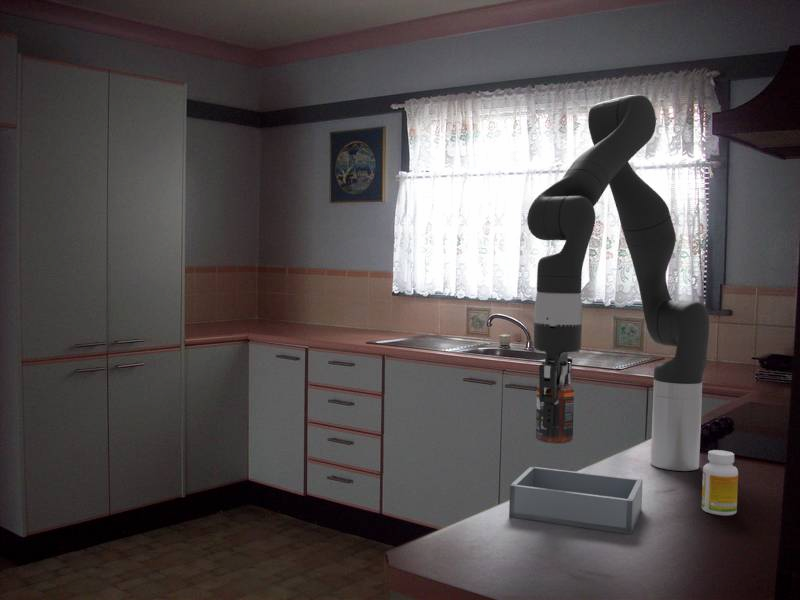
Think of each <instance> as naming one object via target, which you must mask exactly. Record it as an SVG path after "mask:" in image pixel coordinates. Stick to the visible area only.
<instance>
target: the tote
mask: <svg viewBox="0 0 800 600" xmlns="http://www.w3.org/2000/svg"><path fill="white" fill-rule="evenodd" d="M643 481H644V480H643V479H639V478H631V477H623V476H617V475H615V476H614V475H607V474H599V473H598V474H597V473H590V472H581V471H573V470H572V471H571V470H564V469H563V470H562V469H555V468H547V467H539V466H529V467H528V468H527V469H526V470H525V471H524V472H523V473H522V474H520V475H519V476H518V478H516V479H515V480H514V481H513V482H512V483H511V484H510V485H509V504H508V505H509V511H508V517H509V518H515V519H522V520H528V521H529V520H530V521H535V522H541V523H542V522H543V523H549V524H550V523H551V524H556V525H563V526H564V525H565V526H570V527H576V528H577V527H579V528H584V529H590V530H591V529H592V530H597V531H598V530H599V531H604V532H611V533H619V534H626V535H632V534H633V531H634V528H635V526H636V524H637V521H638V519H639V517H640V515H641V512H642V509H643V508H642V507H643V506H642V503H643Z"/></svg>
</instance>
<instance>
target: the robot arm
mask: <svg viewBox="0 0 800 600" xmlns="http://www.w3.org/2000/svg"><path fill="white" fill-rule="evenodd" d="M656 117H657V116H656V112H655V108H654V106H653V103H652V102H651V100H650V99H649V98H648V97H647V96H645V95H643V94H630V95H629V94H628V95H625V96H621V97H616V98H613V99H609V100H604V101H601V102H598V103H596V104H594V105H592V106H591V107H590V109H589V112H588V116H587V122H588V123H587V125H588V130H589V131H588V132H589V135H590V139H591V141H592V144H593V146H591V147H590V148H589V149H587V150H586V151H584V152H583V153H582V154H581V155H580V156H578V157H577V158H576V159H575V160H574V161H573V162H572V164H571V165H570V166H569V168H568V169H567V171H566V173H565V174H564V175H563V177H562V178H561V179H560V180H558V181H556V182H555V183H554V184H552V185H550V186H549V187H548V188H547V189H545V190H544V191H542V192H541V193H540V194H539V195H538V196H536V198H535V199H534V200H533V201H532V203H531V205H530V207H529V209H528V213H527V217H526V220H527V221H526V222H527V226H528V230H529V232H530V233H531V235H532V236H533V237H535V238H536V239H539V240H541V241H565V242H564V245H563V247H562V249H561V250H560V251H559V252H557V253H554V254H550V255H546V256H543V257H541V258H540V259H539V260H538V263H537V270H536V271H537V274H536V296H535V302H534V318H533V349H534V350H536V351H539V352H545V358H544V361H542V363H541V364H540V365H539V367H538V370H539V372H538V373H539V374H538V375H539V377H538V378H539V381H538V385H539V401H540V402H542V404H544V405H543V427H544V428H547V429H556V428H557V426H558V403H559V396H560V392H562V391H563V389H564V381H565V376H566V375H567V372H568V383H569V384H570V385H571V384H572V383H571V382H572V368H573V367H572V366H573V365H572V364H573V358H572V357H569V356H568V353H576V352H577V353H578V352H579V351H581V349H582V330H583V329H582V326H583V325H582V324H583V301H582V280H583V279H582V277H583V267H584V262H585V259H586V258H585V257H586V253H587V250H588V247H589V243H590V240H591V238H592V236H593V232H594V228H595V223H596V212H595V205H596V204H597V203H599V200H600V199H601V197H602V195H603V194H604V192H605V191H606V189H607V188H608V186H609V187H610V192H611V194H612V197H613V200H614V204H615V207H616V210H617V214H618V218H619V222H620V226H621V231H622V233H623V237H624V240H625V243H626V246H627V249H628V252H629V255H630V258H631V262H632V265H633V270H634V273H635V278H636V280H637V285H638V288H639V293H640V294H639V295H640V300H641V305H642V311H643V317H644V320H645V321H644V323H645V325H646V329H647V332H648V334H649V336H650V338H651V340H653V342H655V343H656V344H659V345H663V346H669V347H676V349H675V354H674V357H673V358H671V359H670V360H668V361H666V362H661V363H659V364H656V365H655V366H654V368H653V369H654V370H653V391H652V394H653V395H652V397H653V398H652V419H651V420H652V422H651V441H650V442H651V444H650V465H652V466H653V467H656V468H659V469H664V470H670V471H679V472H681V471H682V472H689V471H691V472H692V471H696V470H698V469H699V467H700V451H701V450H700V449H701V430H702V429H701V424H702V400H703V397H702V395H703V376H704V372H705V369H706V365H707V359H708V358H707V356H708V348H709V347H708V346H709V337H710V336H709V335H710V316H709V312H708V310H707V308H706V306H705V304H703V303H701V302H699V301H693V300H679V299H678V300H677V299H672V297H671V295H670V292H669V289H668V284H667V271H668V267H669V264H670V261H671V259H672V256H673V252H674V250H675V247H676V241H677V240H676V239H677V235H676V232H675V231H676V230H675V227H674V223H673V219H672V215H671V212H670V210H669V207H668V204H667V203H666V201H665V200H664V199H663V198H662V197H661V195H660V194H659V193H657V192H656V190H654V189H653V188H652V186H650V185H649V184H648V183H647V182H645V181H644V180H643V179H642V178H641V177H640V176H639V175H638V174H637V173H636V171H635V170H634V169H633V168H632V166H631V164H630V160H631V159H632V158H633V157H634V156H635V155H636V154H637V153H638V152H639V151H640V150H641V149H643V147H645V146H646V145H647V144H648V143H649V141H651V139H652V137H653V136H654V134H655V131H656V125H657V118H656ZM557 384H558V385H557ZM571 386H572V385H571ZM548 390H552V395H547V391H548Z"/></svg>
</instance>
